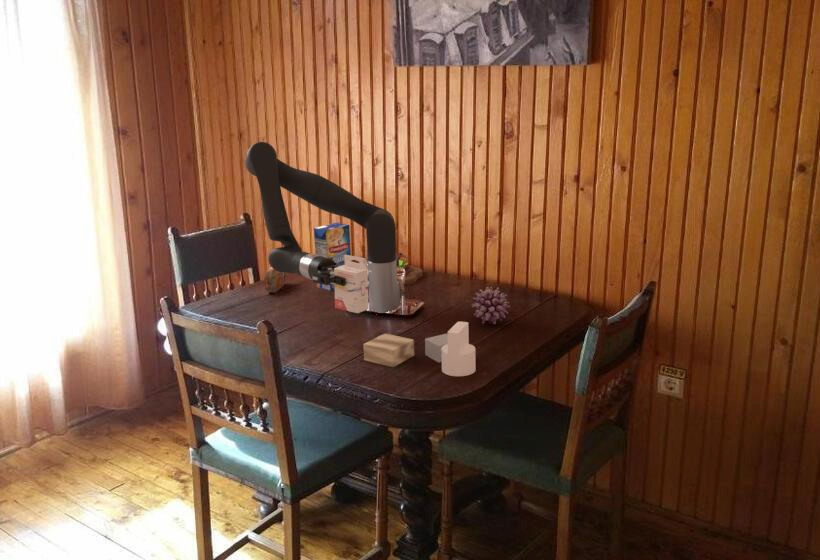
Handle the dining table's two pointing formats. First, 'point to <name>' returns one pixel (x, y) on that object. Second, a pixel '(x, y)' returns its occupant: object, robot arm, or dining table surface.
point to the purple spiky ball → (490, 305)
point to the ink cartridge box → (352, 285)
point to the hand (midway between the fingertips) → (353, 279)
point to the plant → (409, 270)
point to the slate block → (435, 346)
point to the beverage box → (332, 245)
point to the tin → (273, 280)
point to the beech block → (388, 350)
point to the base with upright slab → (458, 352)
